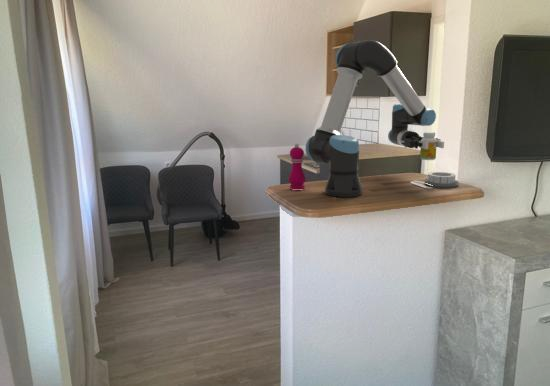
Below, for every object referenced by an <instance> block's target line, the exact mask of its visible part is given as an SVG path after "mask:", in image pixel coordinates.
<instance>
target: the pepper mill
mask: <svg viewBox="0 0 550 386" xmlns="http://www.w3.org/2000/svg"><path fill="white" fill-rule="evenodd" d="M289 155H290V157H291V158H290V162H291V165H292V166H291V167H292V168H291V172H290V174H289V175H288V176H289V178H288V182H289V184H290V185H289V189H290V188H292V189H304V190H305V185H304V184H305V183H306V176H305V173H304V172H303V168H302V167H303V166H302V164H303V157H304V155H305V153H304V150H303V148H302V147H300V145H299V143H295V144H294V147H293V148H291V149H290V151H289Z"/></svg>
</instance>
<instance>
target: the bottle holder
mask: <svg viewBox="0 0 550 386" xmlns="http://www.w3.org/2000/svg"><path fill="white" fill-rule="evenodd" d="M456 176H457V175H456V174H455V173H452V172H448V171H447V172H445V171H431V172H428V173H427V178H425V179H424V180H423V183H424V182H425V183H428V184H431V185H433V186H434V187H433V188H438V189H439V188H441V189H450V188H451V189H452V187H453V188H457V187H458V186H459V180H457V179H456ZM456 186H457V187H456Z"/></svg>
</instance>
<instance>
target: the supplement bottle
mask: <svg viewBox="0 0 550 386" xmlns="http://www.w3.org/2000/svg"><path fill="white" fill-rule="evenodd" d="M422 137H424V138H423V139H422V140H421V141H424V142H428V149H424V148H420V155H419V158H420V160H423V161H434V160H436V159H437V148H438V147H437V140H436V139H435V138H436V132H435V131H423V136H422Z"/></svg>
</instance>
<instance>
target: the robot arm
mask: <svg viewBox="0 0 550 386" xmlns="http://www.w3.org/2000/svg"><path fill="white" fill-rule="evenodd" d="M334 59H335V60H334V62H335V65H336V73H337V78H336V81H335V83H334V87H333V90H332V92H331V95H330V99H329V102H328V105H327V108H326V111H325V114H324V116H323V119H322V123H321V125H320V127H317V128H316V130H315V132H314V135H312V136H311V137H309V138H308V139H307V140H306V143H305V153H306V155H307V158H308V159H309V160H311V161H312V162H313V163H316V164H319V165H320V164H323V165H326V166H329V175H328V178H327V181H326V184H325V188H324V190H325V191H324V193H325V195H327V194H328V195H327V196H330V195H333V196H332V197H334V196H338V197H337V198H355V197H359V196H361V195H362V194H363V186H362V184H361V180H360V177H359V161H360V160H359V159H360V146H359V140H358V139H357V137H354V136H352V135H345V134H341V130H342V128H343V125H344V122H345V118H346V115H347V112H348V110H349V106H350V103H351V100H352V98H353V94H354V92H355V88H356V86H357V83H358V80H359V81H360V80H361V79H362V78H363V76H364V73H365V70H370V71H372V72H374V73H375V75H376V76H377V77H379V78H380V77H381V79H382V80H383V81H384V83H385V84H386V85H387V87H388V88H389V90H390V91H391V92H392V94H393V95H394V96H395V97H396V99H397V100H398V103H395V104H393V105H392V112H391V129H390V130H389V131H388V134H387V138H388V141H389V142H390V143H392V144H394V145H397V146H401V147H404V149H405V148H408V149H417V150H418V149H419V148H420V149H421V148H424V149H428V142H424V141H421V140H422V139H423V138H424V136H421V135H420V134H419V133H418V132H416V131H412V130H408V129H409V126H410V125H411V126H413V125H414V126H421V127H426V126H427V127H429V126H432V125H433V124H434V123H435V121H436V119H437V114H436V113H437V112H436V111H435V110H434V109H432V108H428V107H426V105H425V104H424V102H423V101H422V100H421V98H420V97H419V96H418V94H417V92H416V91H415V89H414V88H413V87H412V85H411V83H410V82H409V81H408V79H407V78H406V77H405V75H404V74H403V72H402V71H401V69H400V68H399V67H398V60H397V58H396V57H395V56H394V54H393V53H392V52H391V51H390V50H389V49H388V48H387V47H386V46H385V45H384V44H382V43H381V42H379V41H377V40H373V39H365V40H359V41H355V42H354V41H351V42H348V43H345V44H342V45H341V46H340V47H339V49H337V51H336V54H335V58H334ZM434 138H435V139H436V140H437V147H436V148H440V149H444V147H445V141H443V140H441V139H440V138H438V137H434Z"/></svg>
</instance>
